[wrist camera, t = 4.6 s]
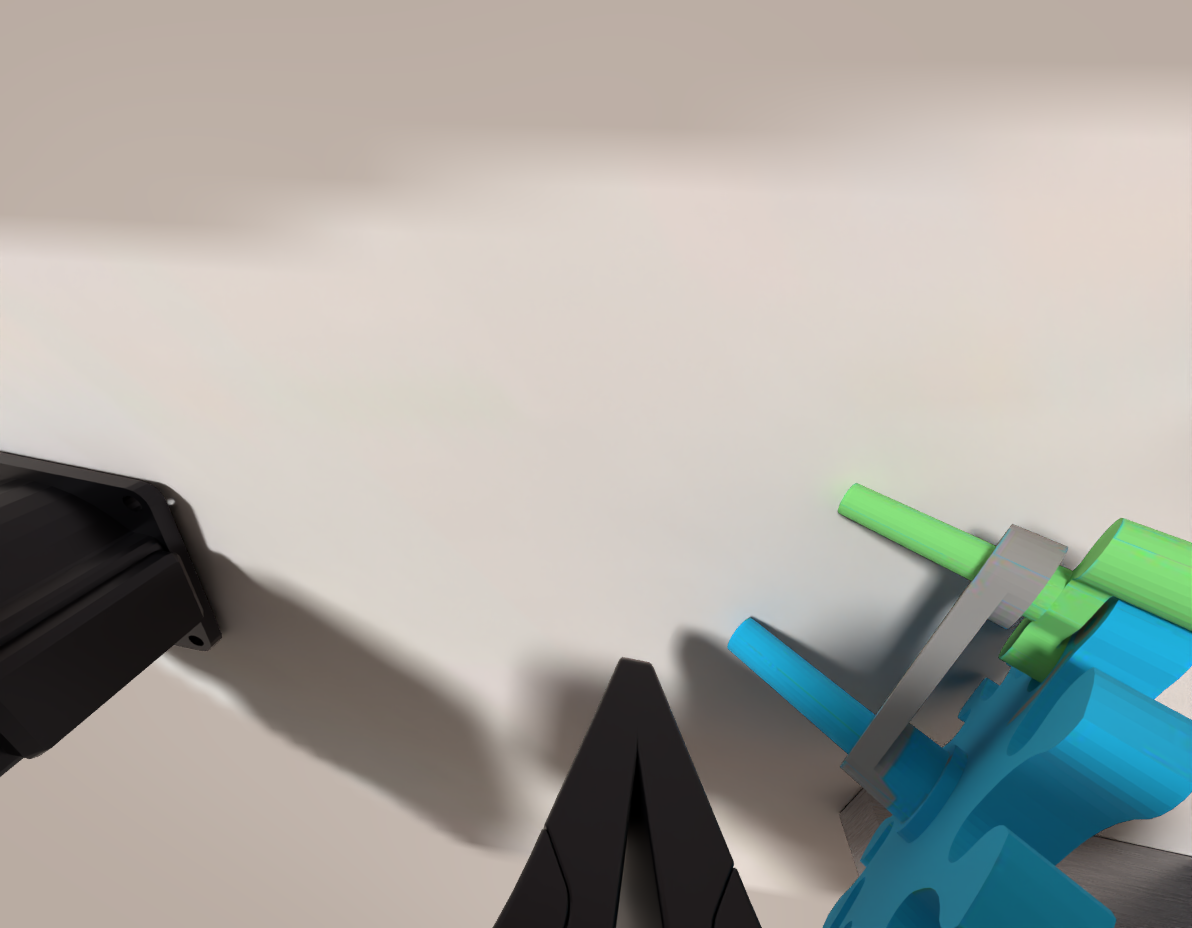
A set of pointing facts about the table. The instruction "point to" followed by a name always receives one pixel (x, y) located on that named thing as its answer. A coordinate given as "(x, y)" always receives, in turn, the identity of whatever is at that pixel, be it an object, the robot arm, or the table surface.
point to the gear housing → (1083, 871)
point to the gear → (1010, 724)
